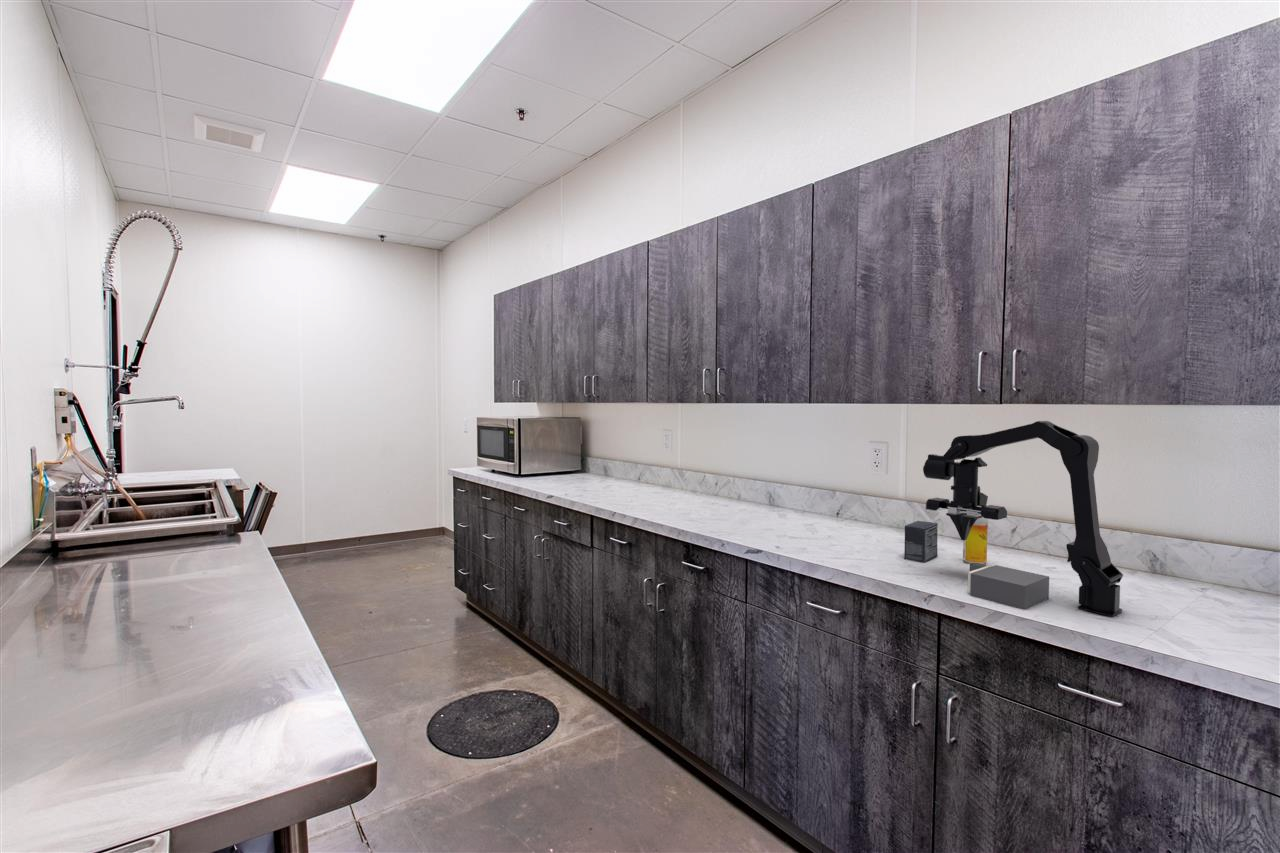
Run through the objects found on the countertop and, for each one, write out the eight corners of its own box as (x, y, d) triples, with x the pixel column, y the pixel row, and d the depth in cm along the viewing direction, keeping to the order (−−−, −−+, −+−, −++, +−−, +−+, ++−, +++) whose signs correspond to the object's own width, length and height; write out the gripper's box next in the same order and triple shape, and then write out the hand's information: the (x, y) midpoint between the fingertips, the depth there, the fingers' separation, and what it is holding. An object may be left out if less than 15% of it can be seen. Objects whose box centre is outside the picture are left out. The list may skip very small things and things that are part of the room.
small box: (916, 552, 184) (916, 519, 183) (938, 556, 179) (938, 522, 179) (902, 559, 176) (903, 524, 176) (925, 563, 172) (926, 528, 171)
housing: (1048, 598, 141) (1049, 576, 140) (1024, 609, 133) (1025, 586, 133) (995, 585, 151) (995, 565, 150) (970, 595, 143) (970, 573, 143)
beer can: (989, 565, 169) (991, 514, 168) (966, 564, 170) (968, 513, 170) (982, 560, 175) (983, 510, 174) (959, 559, 176) (961, 509, 176)
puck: (989, 578, 157) (989, 565, 157) (982, 580, 155) (982, 567, 154) (973, 574, 160) (974, 562, 160) (966, 577, 158) (966, 564, 158)
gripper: (1017, 484, 153) (1015, 542, 154) (945, 476, 169) (944, 530, 169) (997, 487, 147) (996, 548, 148) (925, 479, 162) (923, 535, 163)
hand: (963, 540), depth 157 cm, fingers closed
